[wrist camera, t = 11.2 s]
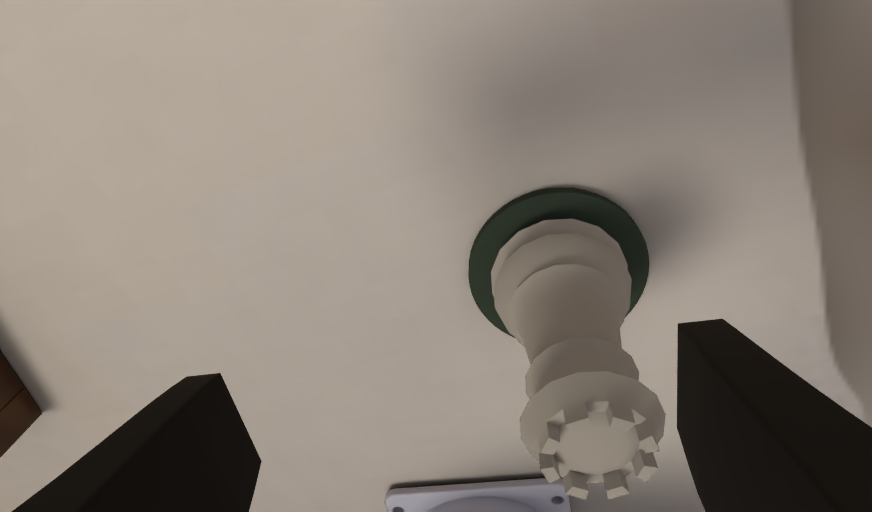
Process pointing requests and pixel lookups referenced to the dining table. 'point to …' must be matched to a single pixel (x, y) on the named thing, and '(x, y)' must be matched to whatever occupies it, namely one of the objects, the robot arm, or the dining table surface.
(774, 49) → the dining table surface
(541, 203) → the coaster
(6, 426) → the holder
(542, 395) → the rook chess piece
